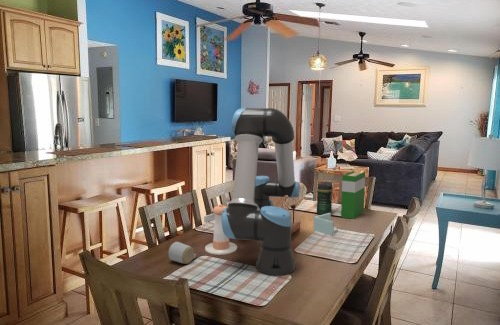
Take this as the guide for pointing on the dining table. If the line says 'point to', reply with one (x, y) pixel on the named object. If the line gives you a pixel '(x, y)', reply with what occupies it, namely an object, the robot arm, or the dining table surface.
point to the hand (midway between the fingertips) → (215, 222)
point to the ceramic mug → (181, 253)
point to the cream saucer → (211, 250)
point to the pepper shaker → (219, 230)
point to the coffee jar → (324, 198)
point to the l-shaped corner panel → (324, 224)
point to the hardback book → (353, 194)
